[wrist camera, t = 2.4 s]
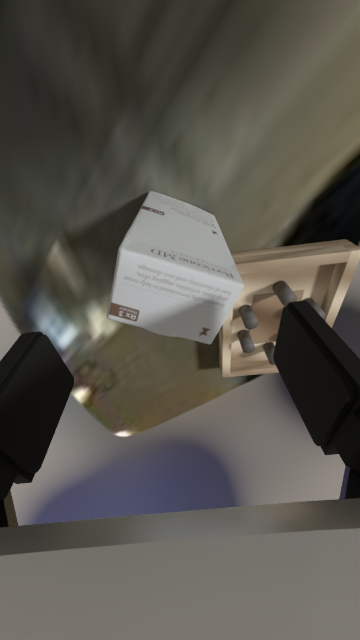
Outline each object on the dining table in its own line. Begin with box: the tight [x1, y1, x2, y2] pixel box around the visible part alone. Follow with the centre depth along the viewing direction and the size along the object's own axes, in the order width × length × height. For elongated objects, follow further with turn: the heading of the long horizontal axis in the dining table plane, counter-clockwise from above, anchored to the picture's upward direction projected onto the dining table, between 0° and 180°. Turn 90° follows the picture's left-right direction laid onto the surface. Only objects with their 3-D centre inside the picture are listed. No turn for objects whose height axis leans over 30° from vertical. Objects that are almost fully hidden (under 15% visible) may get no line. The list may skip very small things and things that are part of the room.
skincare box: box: [107, 191, 244, 344], centre depth 15 cm, size 6×4×12 cm
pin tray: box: [219, 239, 360, 377], centre depth 25 cm, size 16×12×4 cm
